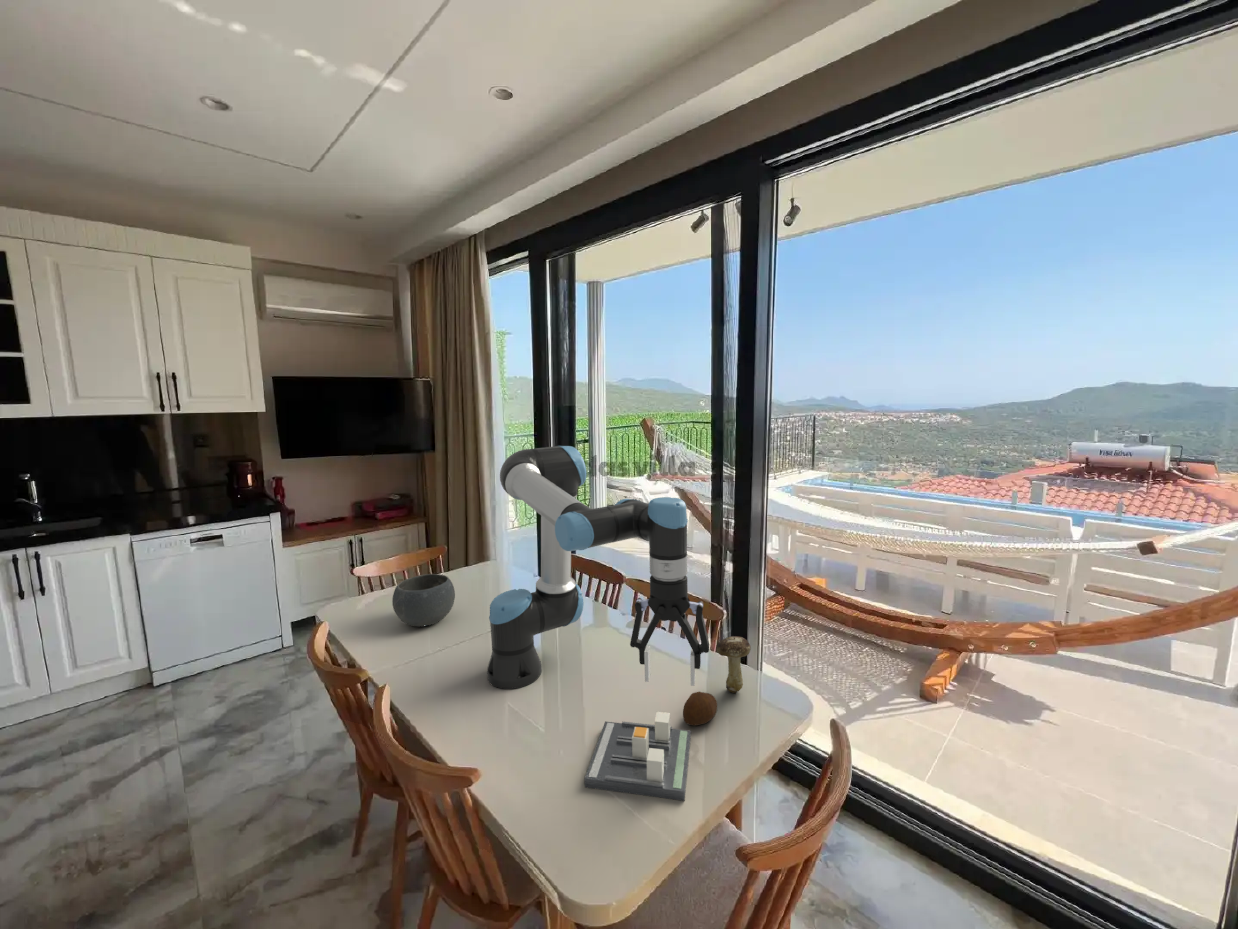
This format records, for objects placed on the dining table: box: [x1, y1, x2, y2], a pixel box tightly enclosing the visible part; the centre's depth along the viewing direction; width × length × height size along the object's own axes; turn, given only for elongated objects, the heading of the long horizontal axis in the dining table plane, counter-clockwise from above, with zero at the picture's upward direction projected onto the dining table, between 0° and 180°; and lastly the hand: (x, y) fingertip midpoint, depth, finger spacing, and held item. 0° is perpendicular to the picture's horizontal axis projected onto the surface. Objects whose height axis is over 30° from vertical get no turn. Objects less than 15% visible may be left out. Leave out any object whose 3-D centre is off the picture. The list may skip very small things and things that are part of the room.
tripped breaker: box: [632, 727, 649, 759], centre depth 108 cm, size 3×4×5 cm
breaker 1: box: [654, 711, 671, 741], centre depth 113 cm, size 3×4×4 cm
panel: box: [584, 721, 692, 802], centre depth 108 cm, size 20×18×3 cm
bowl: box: [392, 573, 456, 627], centre depth 178 cm, size 20×20×15 cm
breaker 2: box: [647, 748, 664, 783], centre depth 101 cm, size 3×4×4 cm
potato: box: [682, 691, 718, 726], centre depth 121 cm, size 7×10×7 cm
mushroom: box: [716, 635, 752, 694], centre depth 131 cm, size 9×9×15 cm
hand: (670, 680), depth 104 cm, fingers open, 9 cm apart
